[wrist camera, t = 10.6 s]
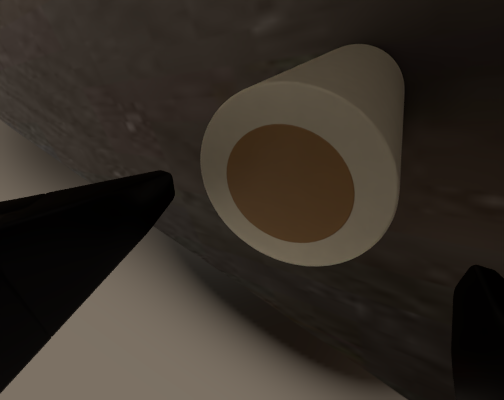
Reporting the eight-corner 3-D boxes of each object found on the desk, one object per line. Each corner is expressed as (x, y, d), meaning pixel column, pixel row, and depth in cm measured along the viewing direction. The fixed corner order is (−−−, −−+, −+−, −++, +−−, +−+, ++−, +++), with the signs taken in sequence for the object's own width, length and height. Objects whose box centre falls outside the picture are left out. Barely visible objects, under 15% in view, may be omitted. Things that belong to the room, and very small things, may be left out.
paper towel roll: (385, 152, 18) (421, 48, 14) (362, 292, 9) (444, 101, 5) (298, 135, 20) (310, 40, 16) (205, 234, 11) (190, 68, 7)
